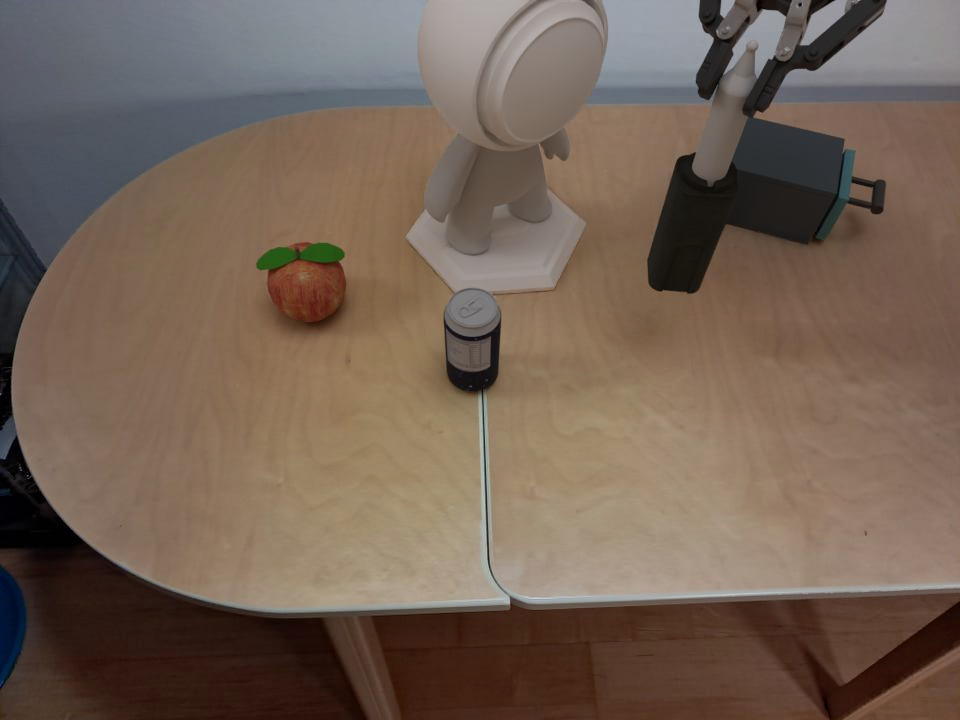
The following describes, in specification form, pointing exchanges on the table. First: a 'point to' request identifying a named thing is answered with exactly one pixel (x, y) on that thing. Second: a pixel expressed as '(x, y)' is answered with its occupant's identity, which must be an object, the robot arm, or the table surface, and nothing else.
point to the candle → (702, 188)
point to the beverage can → (472, 339)
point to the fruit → (305, 279)
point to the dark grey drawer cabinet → (784, 179)
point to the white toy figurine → (504, 136)
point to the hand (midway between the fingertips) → (724, 103)
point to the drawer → (844, 192)
